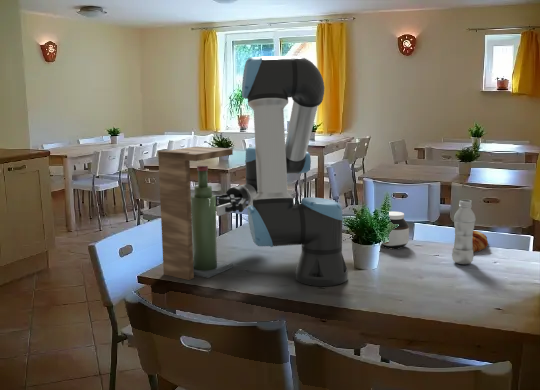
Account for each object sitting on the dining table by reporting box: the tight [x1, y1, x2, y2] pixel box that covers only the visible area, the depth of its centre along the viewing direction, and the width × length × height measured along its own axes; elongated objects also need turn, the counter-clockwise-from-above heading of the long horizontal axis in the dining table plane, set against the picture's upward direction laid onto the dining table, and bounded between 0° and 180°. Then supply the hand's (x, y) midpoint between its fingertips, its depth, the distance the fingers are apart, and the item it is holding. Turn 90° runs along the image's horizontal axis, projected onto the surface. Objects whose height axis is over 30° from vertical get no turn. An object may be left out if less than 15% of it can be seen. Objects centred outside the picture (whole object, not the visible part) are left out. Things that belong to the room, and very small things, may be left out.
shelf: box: [157, 146, 234, 281], centre depth 177 cm, size 17×14×37 cm
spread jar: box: [380, 211, 410, 250], centre depth 204 cm, size 12×11×12 cm
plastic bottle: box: [451, 199, 476, 265], centre depth 183 cm, size 6×7×20 cm
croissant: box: [472, 230, 489, 253], centre depth 202 cm, size 21×10×8 cm, turn 139°
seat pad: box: [193, 262, 234, 279], centre depth 182 cm, size 12×13×1 cm
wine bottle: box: [191, 165, 218, 271], centre depth 180 cm, size 7×7×31 cm
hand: (199, 208), depth 178 cm, fingers open, 13 cm apart
